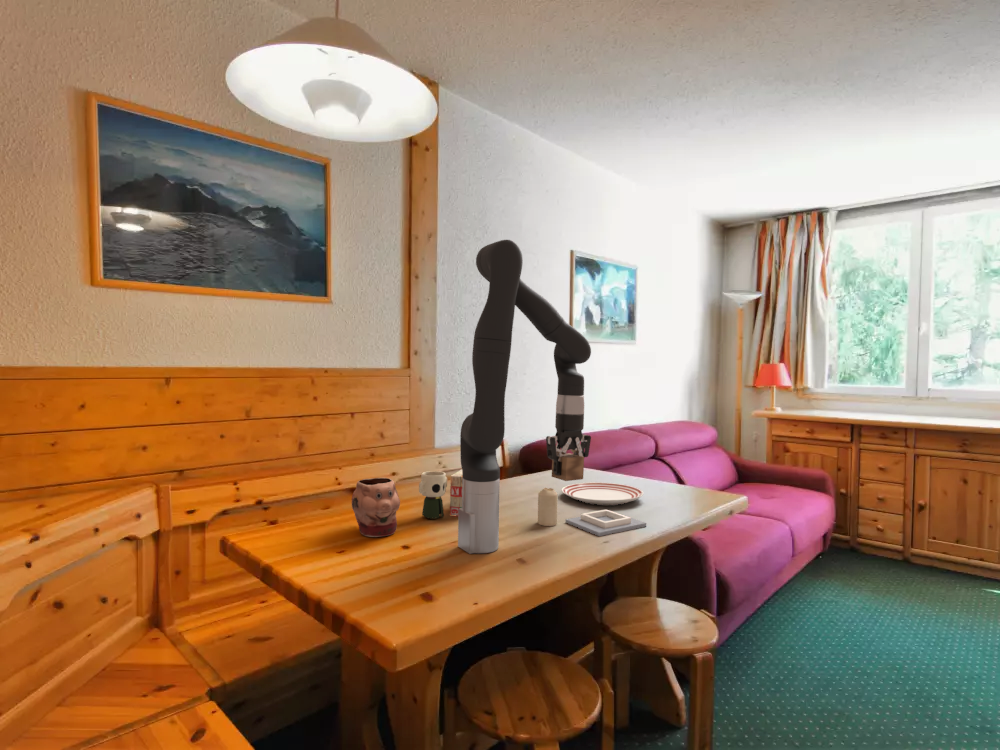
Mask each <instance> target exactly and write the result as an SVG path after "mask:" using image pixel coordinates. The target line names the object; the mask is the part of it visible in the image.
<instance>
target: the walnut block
mask: <svg viewBox="0 0 1000 750" xmlns="http://www.w3.org/2000/svg"><path fill="white" fill-rule="evenodd" d="M558 456H559V455H558ZM561 462H562V471H561V475H560V476H558V475H555V474H554V471H553V466H554V461H553V460H552V459H551V477H552V478H555V479H558V480H562V481H564V482H571V481H578V480H579V481H580V480H584V468H585V467H584V466H585V458H584V457H583V456H578V455H574V454H573V453H570V452H569V453H566V454H564V456H563V457H562V461H561Z"/></svg>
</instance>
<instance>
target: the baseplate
mask: <svg viewBox="0 0 1000 750" xmlns="http://www.w3.org/2000/svg"><path fill="white" fill-rule="evenodd" d="M564 521H565V522H564V523H566V524H567V523H568V525H570V526H572V525H573V526H572V527H575V528H577V527H578V528H577V529H580V530H582V529H583V530H582V531H585V532H587V533H589V532H590V534H592V535H594V534H595V536H597V537H602V536H608V535H613V534H616V533H621V532H626V531H632V530H636V528H637V529H641V528H645V526H646V527H647V522H645V521H641V520H640V519H636V518H633V517H630V516H627V515H623V514H621V513H619V512H616V511H612V510H608V509H601V510H595V511H590V512H584V513H580V516H577V517H576V516H575V517H570V518H566V519H565V520H564ZM612 533H613V534H612Z"/></svg>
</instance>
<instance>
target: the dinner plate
mask: <svg viewBox="0 0 1000 750" xmlns="http://www.w3.org/2000/svg"><path fill="white" fill-rule="evenodd" d="M561 493H563V494H564V495H566V496H567V497H569V498H571V499H573V500H576V501H578V500H579V502H581V501H582V503H584V502H585V503H584V504H588V503H590V504H589V505H594V504H597V505H596V506H619V505H618V504H621V505H624V503H625V504H627V503H630V502H633V501H636V500H639V499H640V498H642V496H643V495H644V491H643V490H642V489H640V488H638V487H635V486H631V485H627V484H622V483H613V482H597V481H595V482H592V481H591V482H581V483H580V482H578V483H573V484H572V483H571V484H568V485H566V486H564V487H562V488H561Z"/></svg>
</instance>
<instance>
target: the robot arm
mask: <svg viewBox="0 0 1000 750" xmlns="http://www.w3.org/2000/svg"><path fill="white" fill-rule="evenodd" d="M475 265H476V268H477V271H478V272H479V274H480V275H481V276H482V277H483V278H484V280H486V281H487V282H488V283H489V286H488V292H487V293H488V294H487V298H486V302H485V305H484V307H483V310H482V312H481V315H480V317H479V319H478V321H477V324H476V327H475V330H474V334H473V344H472V345H473V346H472V356H471V357H472V358H471V360H472V361H471V362H472V373H473V379H474V389H475V397H474V406H473V411H472V413H471V414H469V415H467V416H466V417H465V419H464V420H463V421H462V423H461V427H460V436H459V437H460V441H459V443H460V465H461V466H460V467H461V469H462V508H459V514H458V519H457V521H458V524H457V528H458V530H457V547H458V548H460V549H461V550H463V551H465V552H466V553H468V554H470V555H471V554H487V553H488V554H489V553H493V552H496V551H497V550H498V549H499V541H500V537H499V536H500V533H499V531H500V490H501V489H500V488H501V487H500V485H501V483H500V482H501V481H500V479H501V478H500V477H501V469H500V465H499V462H498V460H497V450H498V449H499V447H501V445H502V443H503V441H504V437H505V430H506V429H505V428H506V427H505V425H506V423H505V421H506V419H505V401H506V399H505V397H506V389H507V384H508V377H509V376H508V374H509V365H510V364H509V363H510V358H511V352H512V341H513V340H512V339H513V336H512V335H513V328H514V327H513V325H514V318H515V308H516V307H517V309H518V310H519V311H520V312H521V313H523V315H524V316H525V317H526V318H527V320H528V321H529V322H530V323H531V324H532V325H533V326H534V328H535V329H536V330H537V331H538V333H539V334H541V336H542V337H543V338H544V339H545V340H546V341H548V342H551V343H554V344H555V346H554V349H553V361H554V365H555V371H556V375H557V394H556V395H557V396H556V404H555V426H554V427H555V429H556V432H555V434H554V435H552V436H550V435H547V436H546V437H545V442H546V443H545V445H546V456H547V458H548V459H550V460H551V461H552V460H553V461H554V466H553V471H554V474H555V475H558V476H560V475H561V471H562V462H561V461H562V457H563V456H564V454H567V451H570V452H572V454H574V455H578V456H583V457H584V459H585V458H588V457H589V454H590V453H589V452H590V448H591V442H592V441H591V440H592V437H591V435H588V434H583V432H582V431H583V430H584V424H585V423H584V422H585V421H584V419H585V396H584V395H585V378H584V376H583V374H581V373H580V372H578V369H577V366H576V365H579V364H580V365H581V364H584V363H586V362H588V360H589V359H590V357H591V355H592V347H591V345H590V342H589V341H588V340H587V338H586V337H585V336H584V335H583V334H582V333H581V332H579V331H578V330H577V329H576V328H575V327H573V326H572V325H571V324H569V323H567V321H565V319H564V317H563V316H562V315H561V314H560V312H559V311H558V310H557V309H556V308H555V306H554V305H553V304H552V303H550V301H548V300H547V298H545V297H544V296H542V295H541V294H540V293H538V292H537V291H535V290H534V289H533V288H531V287H530V286H529V285H527V283H526V282H524V281H523V280H522V279H521V275H522V270H523V254H522V250H521V248H520V246H519V245H518V244H517V243H516V242H515V241H513V240H511V239H502V240H501V239H500V240H498V241H495V242H492V243H489V244H487V245H484V246H483V247H482V248H480V249H479V251H477V254H476V258H475ZM558 455H559V456H558Z"/></svg>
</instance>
